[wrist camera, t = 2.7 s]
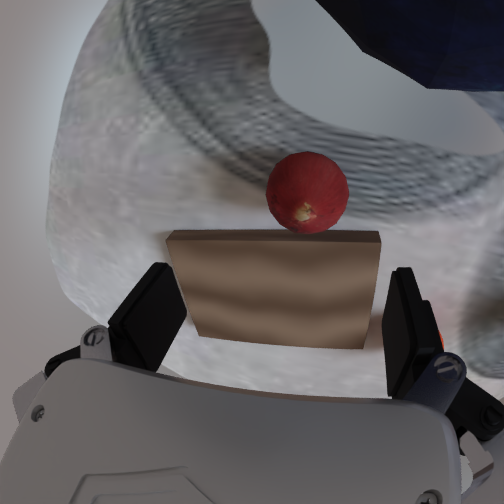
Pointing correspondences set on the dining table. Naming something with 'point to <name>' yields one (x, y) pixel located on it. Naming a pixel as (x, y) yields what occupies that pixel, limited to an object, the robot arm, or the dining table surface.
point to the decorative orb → (430, 39)
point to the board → (279, 284)
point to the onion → (307, 192)
